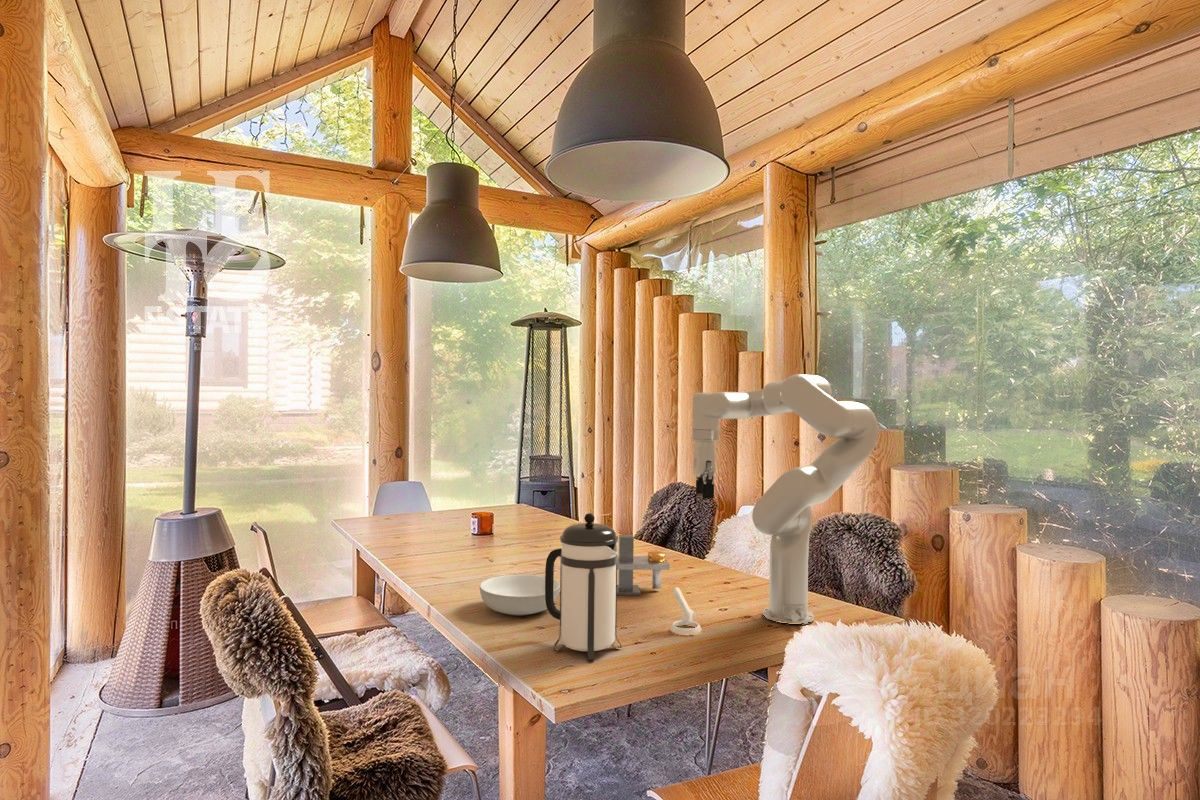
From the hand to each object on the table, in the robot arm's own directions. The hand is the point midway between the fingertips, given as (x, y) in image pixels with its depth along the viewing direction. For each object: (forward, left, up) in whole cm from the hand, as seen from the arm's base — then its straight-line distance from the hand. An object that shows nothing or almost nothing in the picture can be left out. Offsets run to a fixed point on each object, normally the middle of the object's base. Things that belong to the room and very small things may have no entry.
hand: (704, 495), depth 193 cm
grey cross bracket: (+4, +18, -28) cm, 34 cm away
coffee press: (-42, +35, -28) cm, 62 cm away
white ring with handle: (-30, +10, -29) cm, 43 cm away
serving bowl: (-14, +51, -29) cm, 60 cm away
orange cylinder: (+4, +13, -27) cm, 31 cm away
